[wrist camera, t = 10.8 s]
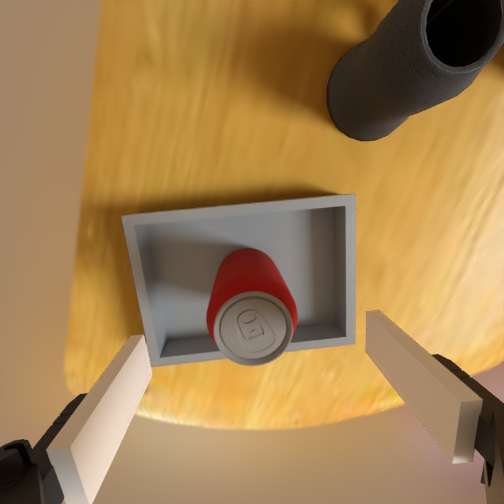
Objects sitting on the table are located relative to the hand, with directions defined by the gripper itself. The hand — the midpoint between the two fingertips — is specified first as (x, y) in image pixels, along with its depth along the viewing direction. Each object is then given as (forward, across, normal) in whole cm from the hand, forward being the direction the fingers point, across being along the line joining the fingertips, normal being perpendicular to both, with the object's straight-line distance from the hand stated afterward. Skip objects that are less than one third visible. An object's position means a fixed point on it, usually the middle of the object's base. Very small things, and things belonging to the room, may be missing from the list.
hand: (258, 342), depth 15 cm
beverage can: (+14, 0, -1) cm, 14 cm away
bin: (+15, 0, -1) cm, 15 cm away
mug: (+16, +15, +18) cm, 28 cm away
